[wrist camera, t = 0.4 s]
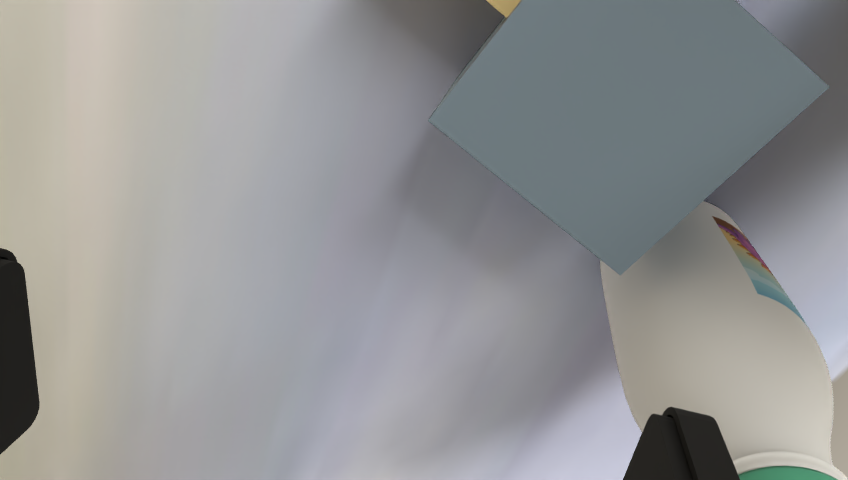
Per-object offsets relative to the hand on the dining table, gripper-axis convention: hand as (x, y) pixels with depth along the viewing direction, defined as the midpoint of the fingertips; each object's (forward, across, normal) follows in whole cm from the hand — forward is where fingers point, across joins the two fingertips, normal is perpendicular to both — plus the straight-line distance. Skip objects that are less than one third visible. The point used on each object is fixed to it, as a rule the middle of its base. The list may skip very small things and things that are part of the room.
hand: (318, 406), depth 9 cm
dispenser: (+27, -6, -2) cm, 27 cm away
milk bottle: (+27, -13, +7) cm, 31 cm away
